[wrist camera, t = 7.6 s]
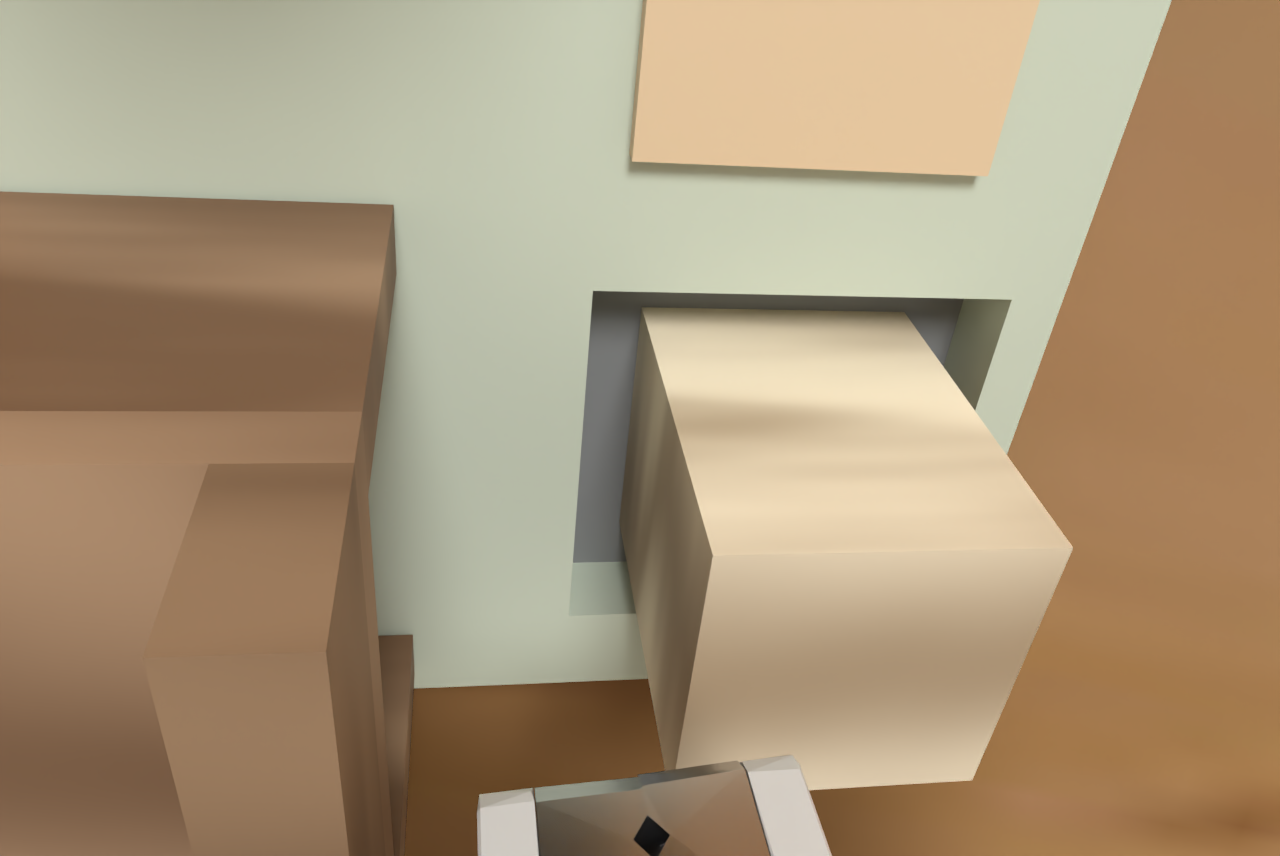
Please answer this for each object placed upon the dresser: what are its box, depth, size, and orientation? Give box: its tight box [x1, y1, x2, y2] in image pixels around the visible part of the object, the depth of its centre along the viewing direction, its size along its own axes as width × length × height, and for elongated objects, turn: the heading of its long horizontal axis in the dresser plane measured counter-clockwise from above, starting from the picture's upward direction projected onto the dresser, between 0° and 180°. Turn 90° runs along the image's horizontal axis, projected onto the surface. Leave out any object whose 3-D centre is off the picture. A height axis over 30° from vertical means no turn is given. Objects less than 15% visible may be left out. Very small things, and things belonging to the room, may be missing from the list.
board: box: [0, 0, 1172, 688], centre depth 16 cm, size 16×15×3 cm
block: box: [619, 307, 1073, 790], centre depth 16 cm, size 4×4×6 cm
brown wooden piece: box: [0, 191, 415, 856], centre depth 12 cm, size 9×7×8 cm
